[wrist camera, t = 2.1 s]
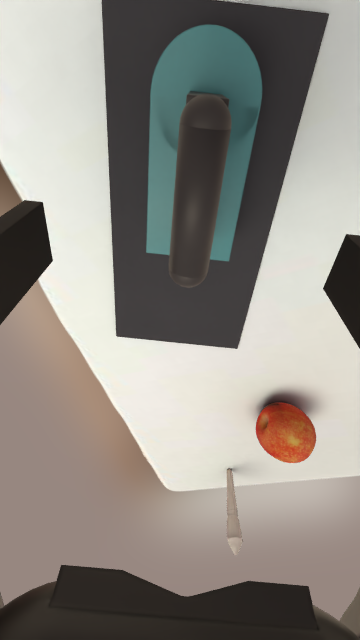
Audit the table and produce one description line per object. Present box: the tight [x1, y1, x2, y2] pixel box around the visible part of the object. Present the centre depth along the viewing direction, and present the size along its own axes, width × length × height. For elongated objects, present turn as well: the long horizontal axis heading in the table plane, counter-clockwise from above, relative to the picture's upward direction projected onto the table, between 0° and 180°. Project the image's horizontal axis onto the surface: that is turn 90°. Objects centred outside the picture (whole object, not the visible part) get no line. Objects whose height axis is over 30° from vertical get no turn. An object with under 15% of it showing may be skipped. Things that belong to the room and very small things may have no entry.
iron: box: [146, 25, 262, 288], centre depth 22 cm, size 16×8×14 cm, turn 175°
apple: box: [256, 402, 316, 463], centre depth 46 cm, size 8×8×8 cm
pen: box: [227, 469, 243, 556], centre depth 56 cm, size 2×3×14 cm
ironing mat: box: [102, 0, 329, 349], centre depth 32 cm, size 32×16×1 cm, turn 175°
